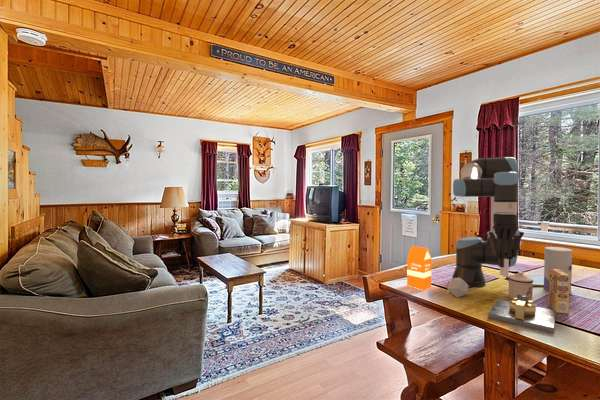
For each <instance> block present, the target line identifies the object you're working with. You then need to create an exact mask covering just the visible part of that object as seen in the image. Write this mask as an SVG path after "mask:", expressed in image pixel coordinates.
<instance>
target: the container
mask: <svg viewBox="0 0 600 400" xmlns="http://www.w3.org/2000/svg"><path fill="white" fill-rule="evenodd" d="M543 262H544V265H543V289H544V290H546V291H548V292H549V269H557V270H561V271H563V272H565V273H566V274H568V275H569V294H571V293H572V276H573V275H572V274H573V273H572V271H573V265H572V264H573V250H572V249H571V248H567V247H559V246H545V247H544V260H543Z"/></svg>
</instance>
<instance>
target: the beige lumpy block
mask: <svg viewBox="0 0 600 400" xmlns="http://www.w3.org/2000/svg"><path fill="white" fill-rule="evenodd" d="M509 302H510V310H511V311H512V312H515V318H518V319H522V320H524V317H525V315H535V314H536V307H537V306H536V305H535V304H534V301H533V300H532V301H528V304H526V305H525V303H526V301H520V300H517V298H513V299H512V300H509Z"/></svg>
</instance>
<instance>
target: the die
mask: <svg viewBox="0 0 600 400" xmlns="http://www.w3.org/2000/svg"><path fill="white" fill-rule="evenodd" d="M469 287H470V286H469V285H468V284H467V283H466V282H465V281H464V280H462V279H461V278H459V277H458V278H453V279H452V278H451V279H450V280H449V281H448V284H447V290H448V291H449V292H450V293H451V294H452V295H453V296H455V297H456V298H460V297H463V296H465V295H466V294H468V292H469Z"/></svg>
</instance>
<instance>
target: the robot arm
mask: <svg viewBox="0 0 600 400" xmlns="http://www.w3.org/2000/svg"><path fill="white" fill-rule="evenodd" d="M519 179H520V174H519V164H518V161H517V159H516V157H513V156H501V157H500V156H499V157H487V158H486V157H485V158H484V157H481V158H477V159H473V160H470V161H468V162H467V163H465V164H464V165H463V166H462V167H461V170H460V178H458V179H457V178H456V179H453V183H452V193H453V194H452V195H453V196H455V197H460V198H466V197H467V198H469V197H470V198H471V197H474V198H475V197H480V198H482V197H483V198H484V197H485V198H486V197H489V198H490V231H486V232H485V234H486V235H487V237H486V240H483V238H482V237H476V236H471V237H470V236H467V237H461V238H459V239H457V240H456V245H455V250H456V253H455V254H456V255H455V256H456V258H455V268H454V272H453V274H452V277H451V279H453V278H458V277H459V278H461V279H462V280H464V281H465V282H466V283H467V284H468V285H469V286H468V287H473V288H474V287H476V288H479V287H481V288H482V287H484V286H485V285H486V278H485V276H484V275H485V274H484V272H483V268H482V265H491V266H498V267H499V275H500V276H502V277H505V278H508V277H509V276H510V275H509V271H510V269H509V268H511V267H515V265H516V264H517V260H518V255H519V249H520V244H521V239H522V238H523V236H524V235H525V232H523V231H520V230H519V228H518V227H517V224H518V215H517V213H518V194H519V193H518V192H519V190H518V189H519V188H518V187H519Z"/></svg>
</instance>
